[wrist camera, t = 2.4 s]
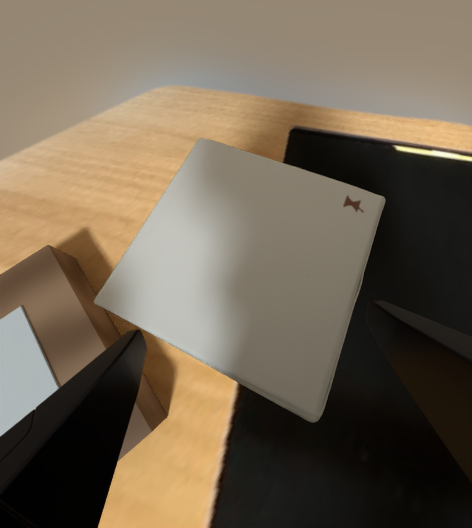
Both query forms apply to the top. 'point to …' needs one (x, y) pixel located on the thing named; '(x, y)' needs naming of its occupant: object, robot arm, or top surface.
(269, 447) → the top surface
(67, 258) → the plinth
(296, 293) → the supplement box
